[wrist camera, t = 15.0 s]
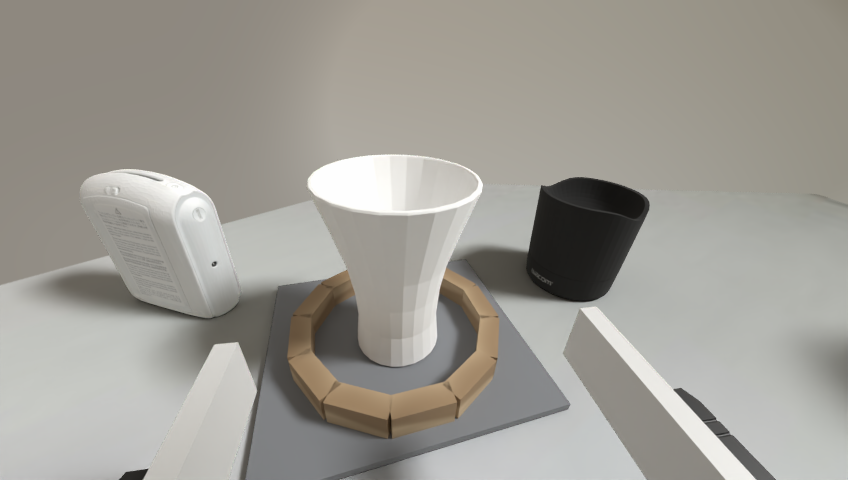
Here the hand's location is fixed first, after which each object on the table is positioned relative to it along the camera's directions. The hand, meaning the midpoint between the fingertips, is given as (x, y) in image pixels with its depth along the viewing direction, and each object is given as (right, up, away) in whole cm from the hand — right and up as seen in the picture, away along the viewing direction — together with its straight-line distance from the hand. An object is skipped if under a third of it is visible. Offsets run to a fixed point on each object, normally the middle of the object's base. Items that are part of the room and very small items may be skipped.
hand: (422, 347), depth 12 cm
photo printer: (-22, -1, +17) cm, 28 cm away
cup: (-2, -4, +13) cm, 14 cm away
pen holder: (+16, 0, +22) cm, 27 cm away
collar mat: (-2, -4, +14) cm, 15 cm away
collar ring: (-2, -4, +14) cm, 15 cm away
